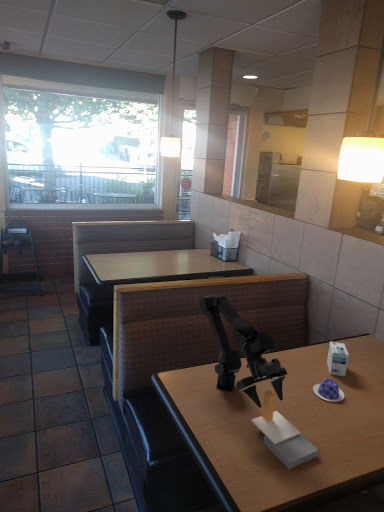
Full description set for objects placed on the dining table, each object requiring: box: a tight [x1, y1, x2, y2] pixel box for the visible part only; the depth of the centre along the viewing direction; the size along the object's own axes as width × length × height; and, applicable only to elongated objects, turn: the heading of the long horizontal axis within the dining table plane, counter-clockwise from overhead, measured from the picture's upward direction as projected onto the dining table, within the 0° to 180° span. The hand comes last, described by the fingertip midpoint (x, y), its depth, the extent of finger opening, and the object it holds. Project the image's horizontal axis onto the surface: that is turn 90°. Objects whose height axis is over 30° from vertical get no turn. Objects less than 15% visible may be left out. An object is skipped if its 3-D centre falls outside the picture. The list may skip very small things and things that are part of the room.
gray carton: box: [262, 433, 319, 470], centre depth 122 cm, size 12×12×2 cm
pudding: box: [312, 378, 345, 403], centre depth 152 cm, size 12×12×5 cm
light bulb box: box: [326, 341, 350, 378], centre depth 168 cm, size 11×7×11 cm, turn 169°
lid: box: [251, 390, 302, 445], centre depth 126 cm, size 12×11×10 cm
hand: (271, 403), depth 128 cm, fingers open, 9 cm apart
